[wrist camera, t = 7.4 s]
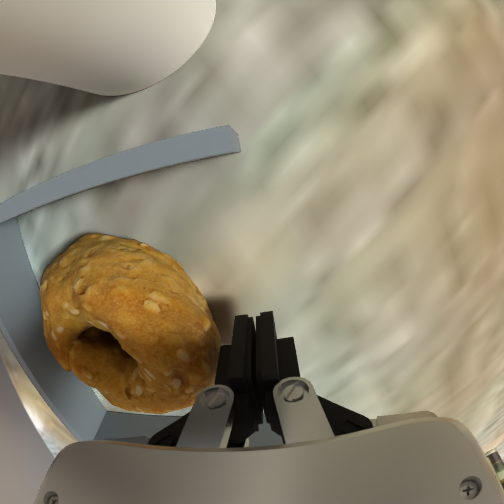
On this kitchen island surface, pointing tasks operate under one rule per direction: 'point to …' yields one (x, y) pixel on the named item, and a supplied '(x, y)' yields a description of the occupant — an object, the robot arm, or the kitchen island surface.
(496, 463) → the coffee can
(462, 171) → the kitchen island surface
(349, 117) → the kitchen island surface
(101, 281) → the bagel
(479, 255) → the kitchen island surface
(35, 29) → the cup
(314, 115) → the kitchen island surface
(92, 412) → the box
